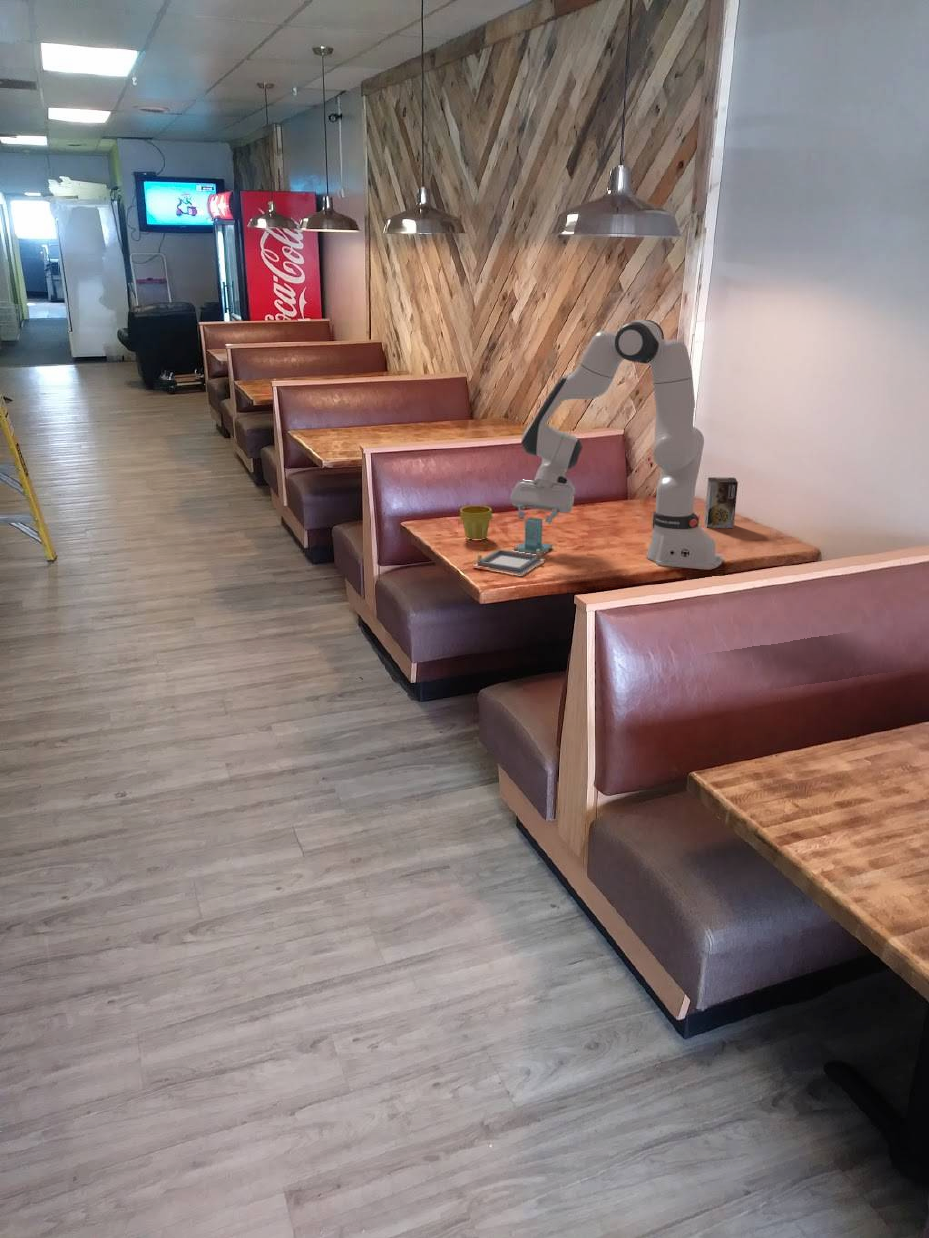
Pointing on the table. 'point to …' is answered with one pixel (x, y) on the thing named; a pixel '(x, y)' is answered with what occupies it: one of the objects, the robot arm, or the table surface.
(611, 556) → the table surface
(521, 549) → the teal plate with post
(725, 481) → the coffee box
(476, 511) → the plant pot
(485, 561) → the base
